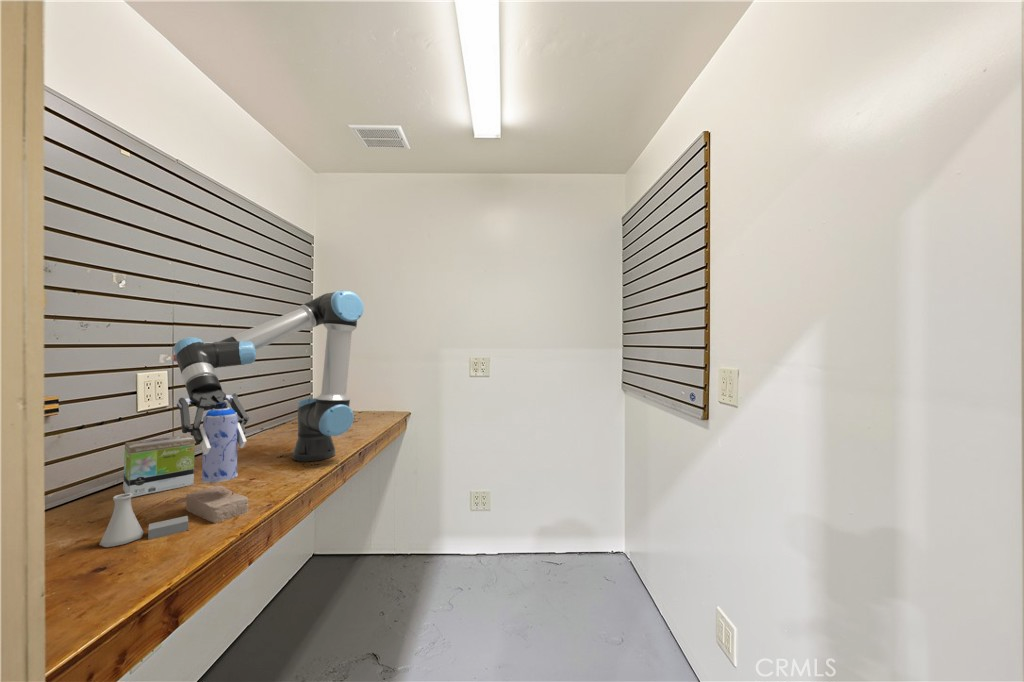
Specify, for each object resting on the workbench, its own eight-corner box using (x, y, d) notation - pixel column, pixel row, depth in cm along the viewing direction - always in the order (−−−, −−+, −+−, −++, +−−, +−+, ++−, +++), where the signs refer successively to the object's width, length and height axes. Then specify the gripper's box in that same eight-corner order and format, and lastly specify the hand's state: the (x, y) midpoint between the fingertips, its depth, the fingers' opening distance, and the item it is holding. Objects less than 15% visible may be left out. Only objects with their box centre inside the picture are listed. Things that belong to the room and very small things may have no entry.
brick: (250, 513, 104) (250, 495, 105) (213, 525, 97) (214, 506, 97) (219, 500, 113) (220, 484, 113) (184, 511, 106) (184, 493, 106)
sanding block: (187, 525, 97) (187, 515, 97) (188, 531, 94) (188, 521, 94) (148, 534, 92) (148, 524, 92) (148, 541, 89) (148, 530, 89)
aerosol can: (243, 476, 107) (244, 402, 107) (208, 485, 100) (210, 406, 100) (229, 471, 111) (230, 400, 111) (195, 479, 104) (197, 403, 105)
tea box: (128, 499, 113) (129, 447, 113) (122, 491, 119) (123, 442, 119) (194, 485, 124) (195, 438, 125) (186, 478, 131) (186, 433, 131)
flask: (141, 529, 94) (141, 487, 95) (146, 539, 90) (147, 494, 90) (97, 541, 89) (98, 496, 89) (101, 551, 84) (101, 504, 84)
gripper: (237, 388, 123) (262, 448, 114) (152, 394, 106) (173, 465, 97) (246, 371, 120) (272, 432, 111) (159, 375, 103) (181, 447, 94)
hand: (226, 447), depth 104 cm, fingers closed on aerosol can, 7 cm apart
